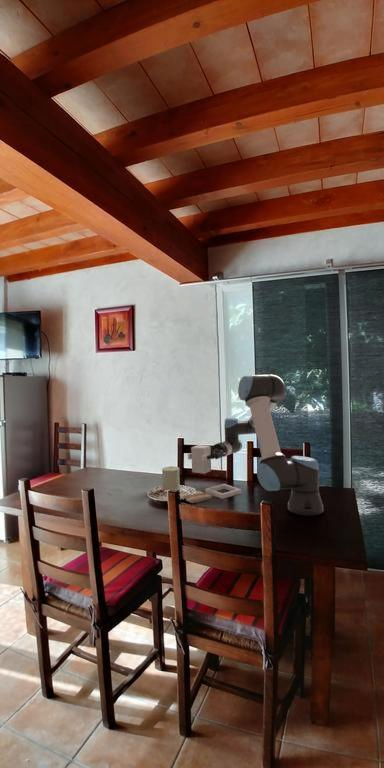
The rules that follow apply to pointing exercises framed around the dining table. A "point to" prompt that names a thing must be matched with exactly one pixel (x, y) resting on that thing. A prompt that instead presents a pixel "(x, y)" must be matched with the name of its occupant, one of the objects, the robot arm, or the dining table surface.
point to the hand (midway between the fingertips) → (195, 457)
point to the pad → (196, 496)
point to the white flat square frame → (231, 492)
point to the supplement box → (200, 459)
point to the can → (170, 478)
